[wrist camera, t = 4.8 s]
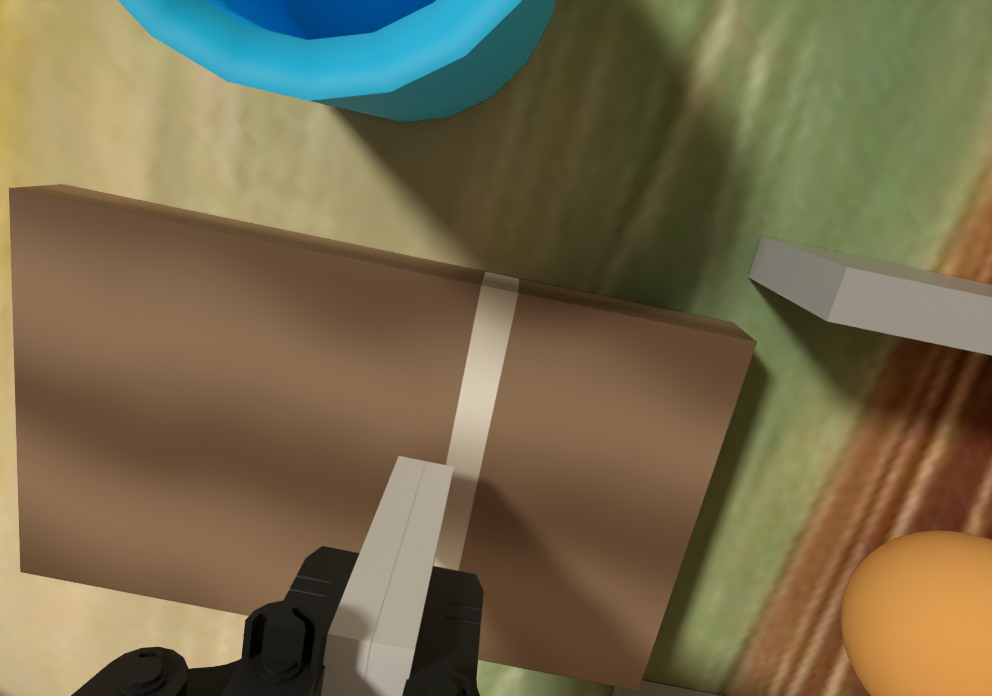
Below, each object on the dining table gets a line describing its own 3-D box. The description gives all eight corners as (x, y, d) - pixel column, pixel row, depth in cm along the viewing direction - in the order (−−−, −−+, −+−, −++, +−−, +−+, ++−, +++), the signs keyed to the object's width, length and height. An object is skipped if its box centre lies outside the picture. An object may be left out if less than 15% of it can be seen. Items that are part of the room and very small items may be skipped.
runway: (62, 184, 18) (9, 188, 17) (733, 322, 19) (756, 342, 17) (63, 535, 22) (20, 572, 20) (628, 644, 22) (638, 690, 21)
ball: (946, 596, 15) (1228, 693, 14) (869, 466, 20) (1070, 530, 20) (833, 761, 17) (1070, 852, 16) (792, 604, 23) (967, 667, 22)
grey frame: (761, 236, 18) (847, 266, 13) (1184, 324, 18) (1415, 385, 14) (609, 701, 23) (632, 843, 19) (942, 765, 24) (1049, 921, 19)
